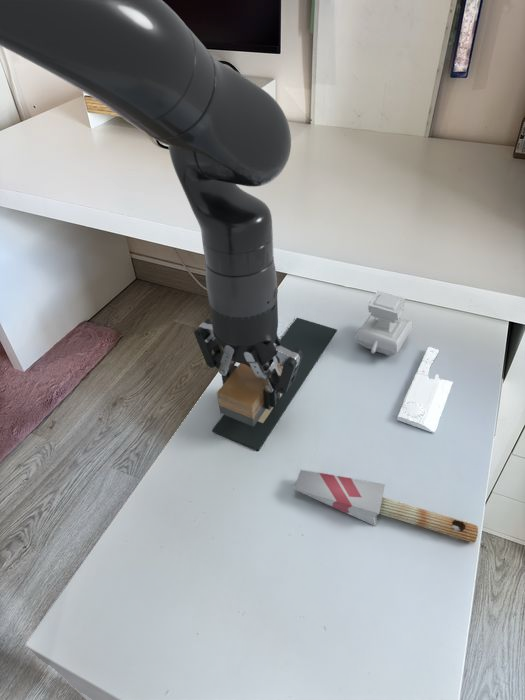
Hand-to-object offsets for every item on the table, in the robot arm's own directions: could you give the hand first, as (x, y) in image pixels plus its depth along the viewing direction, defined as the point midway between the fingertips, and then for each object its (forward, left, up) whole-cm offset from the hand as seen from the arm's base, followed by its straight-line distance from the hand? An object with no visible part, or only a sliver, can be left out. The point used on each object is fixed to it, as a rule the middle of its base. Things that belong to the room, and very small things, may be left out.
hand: (251, 397), depth 66 cm
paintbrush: (-6, -20, -4) cm, 21 cm away
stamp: (+21, -11, -4) cm, 24 cm away
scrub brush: (0, 0, 0) cm, 0 cm away
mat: (+8, 0, -4) cm, 9 cm away
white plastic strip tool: (+15, -20, -4) cm, 25 cm away
